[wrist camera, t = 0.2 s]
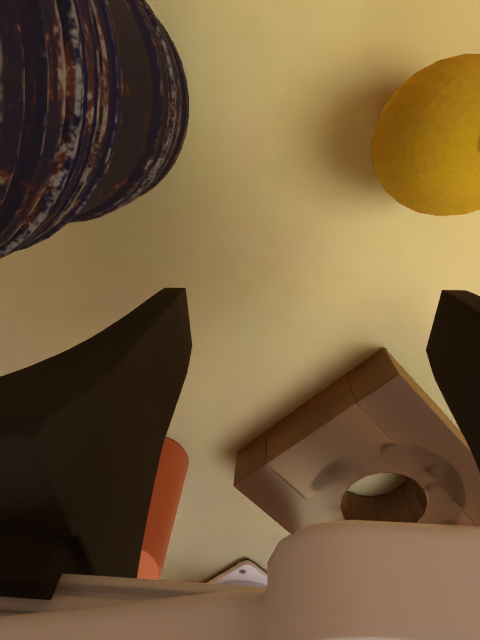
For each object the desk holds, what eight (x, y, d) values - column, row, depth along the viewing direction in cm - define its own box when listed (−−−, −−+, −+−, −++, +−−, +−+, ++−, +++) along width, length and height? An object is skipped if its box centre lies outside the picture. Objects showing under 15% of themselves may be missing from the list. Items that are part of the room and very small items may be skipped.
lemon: (498, 90, 18) (653, 54, 11) (445, 213, 20) (544, 252, 13) (379, 59, 18) (455, 1, 11) (339, 186, 20) (379, 211, 13)
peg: (162, 489, 29) (126, 604, 22) (120, 456, 28) (68, 565, 21) (200, 461, 28) (176, 574, 21) (157, 425, 27) (116, 531, 20)
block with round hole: (363, 561, 31) (372, 601, 28) (236, 451, 27) (232, 486, 25) (509, 485, 27) (537, 524, 24) (383, 346, 23) (399, 373, 21)
